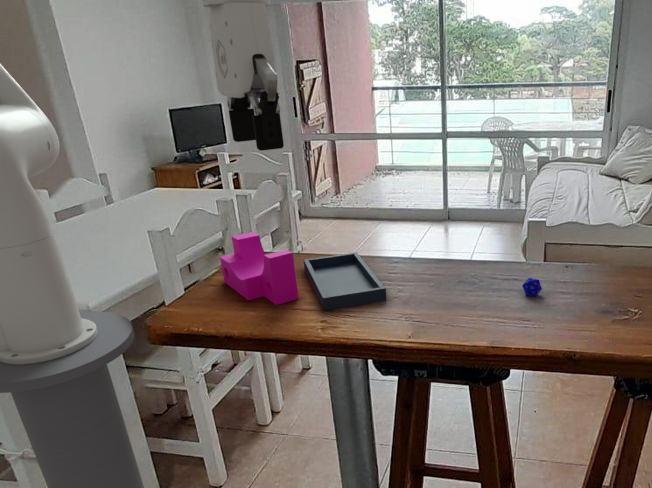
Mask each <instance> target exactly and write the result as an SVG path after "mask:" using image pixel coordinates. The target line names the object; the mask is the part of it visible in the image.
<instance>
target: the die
mask: <svg viewBox="0 0 652 488" xmlns="http://www.w3.org/2000/svg"><path fill="white" fill-rule="evenodd" d="M521 286H522V288H523V291H524V294H525V295H527V296H532V297H537V296H538V294H539V293H540V292H541V291H542V290H543V287H542V285H541V282H540V279H538V278H533V277H528V278H527V279H526V280H525V281H524V283H523V284H522V285H521Z"/></svg>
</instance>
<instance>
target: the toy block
mask: <svg viewBox="0 0 652 488" xmlns="http://www.w3.org/2000/svg"><path fill="white" fill-rule="evenodd" d="M230 238H231V243H232V249H233V253H231V254H226V255H222V256H219V260H220V266H221V270H222V276H223V281H224V283H225V284H226V285H228V286H229V287H230V288H232V289H233V290H234V291H235V292H236V293H238V294H240V296H242V297H243V298H245V299H246V300H247V301H251V300H256V299H258V298H263V297H264V298H266V299H267V300H268V301H270V302H271V303H272V304H274V305H275V306H278V305H281V304H285V303H288V302H292V301H295V300H299V291H298V283H297V276H296V267H295V260H294V253H293V251H290V250H288V249H283V250H279V251H275V252H270V253H265V250H264V248H263V245H262V241H261V236H260V235H259V234H258V233H256V232H254V231H249V232H246V233H245V232H244V233H241V234H236V235H231V236H230Z"/></svg>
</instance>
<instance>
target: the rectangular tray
mask: <svg viewBox="0 0 652 488" xmlns="http://www.w3.org/2000/svg"><path fill="white" fill-rule="evenodd" d="M303 268H304V272H305V274H306V276H307V278H308V280H309V283H310V284H311V286H312V288H313V291H314V293H315V294H316V296H317V298H318V301H319V302H320V305H321V307H322V309H323V311H330V310H331V311H332V310H337V309H342V308H348V307H355V306H360V305H366V304H372V303H373V304H374V303H378V302H384V301H387V288H386V286H384V284H383V283H382V282H381V280H380V279H379V278H378V277H377V275H376V274H375V273H374V271H372V269H371V268H370V267H369V266H368V264H367V263H366V261H364V259H363V258H362V257H361V256H360V254H359V253H358V252H349V253H341V254H335V255H328V256H320V257H314V258H305V259H303Z"/></svg>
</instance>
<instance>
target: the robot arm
mask: <svg viewBox="0 0 652 488" xmlns="http://www.w3.org/2000/svg"><path fill="white" fill-rule="evenodd" d="M202 4H203V7H205V8H209V27H210V28H209V29H210V38H211V48H212V55H213V64H214V71H215V80H216V86H217V90H218V93H220V94H221V95H222V96H224V97H227V98H226V99H227V101H226V103H227V105H226V106H227V109H228V116H229V122H230V127H231V134H232V140H233V141H234V142H235V143H241V142H250V141H255V144H256V149H257V150H258V151H271V150H280V149H283V148H284V147H285V144H284V137H283V127H282V120H281V107H280V104H279V99H280V96H279V92H278V89H279V88H278V86H279V85H278V74H277V73H278V72H277V65H276V58H275V51H274V46H273V45H274V44H273V38H272V33H271V28H270V23H269V18H268V14H267V9H266V7H270V6H271V0H202ZM60 149H61V147H60V139H59V136H58V134H57V131H56V129H55V127H54V125H53V124H52V122H51V121H50V119H49V118H48V117H47V115H46V114H45V113H44V111H42V109H41V108H40V107H39V106H38V105H37V103H36V102H35V101H34V100H33V99H32V98H31V96H30V95H29V94H28V93H27V92H26V90H25V89H23V88H22V86H21V85H20V84H19V83H18V82H17V80H15V79H14V77H13V76H12V75H11V74H10V73H9V71H8V70H7V69H6V68H5V67H4V66H3V64H2V63H0V362H3V363H7V364H14V365H24V364H34V363H40V362H45V361H49V360H54V359H57V358H60V357H63V356H66V355H69V354H71V353H74V352H76V351H78V350H80V349H82V348H83V347H85V346H87V345H88V344H89V343H91V342H92V341H93V340H94V339H95V338H96V336H97V334H98V330H97V327H96V324H95V323H94V322H92V321H90V320H87V319H82V318H81V316H80V313H79V312H80V310H79V307H78V304H77V301H76V297H75V294H74V290H73V287H72V284H71V281H70V278H69V275H68V271H67V269H66V265H65V262H64V259H63V255H62V253H61V249H60V246H59V242H58V240H57V239H58V238H57V236H56V233H55V231H54V226H53V224H52V220H51V218H50V216H49V213H48V210H47V207H46V206H45V204H44V202H43V200H42V199H41V198H40V196H39V195H38V193H37V192H36V190H35V189H34V187H33V186H32V184H31V181H30V180H29V179H31V178H33V177H34V176H37V175H39V174H41V173H44V172H46V171H48V170H49V169H50V168H52V166H53V165H54V164H55V163H56V161H57V160H58V157H59V154H60Z"/></svg>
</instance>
